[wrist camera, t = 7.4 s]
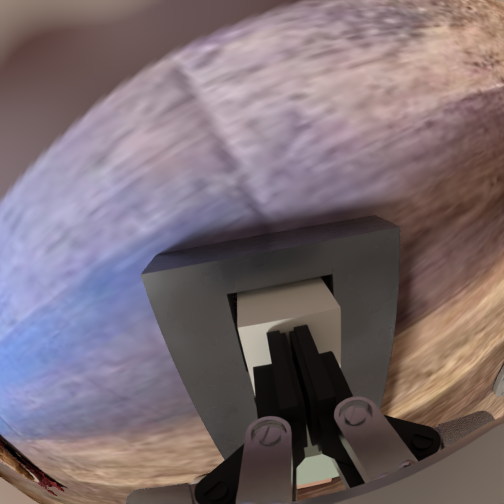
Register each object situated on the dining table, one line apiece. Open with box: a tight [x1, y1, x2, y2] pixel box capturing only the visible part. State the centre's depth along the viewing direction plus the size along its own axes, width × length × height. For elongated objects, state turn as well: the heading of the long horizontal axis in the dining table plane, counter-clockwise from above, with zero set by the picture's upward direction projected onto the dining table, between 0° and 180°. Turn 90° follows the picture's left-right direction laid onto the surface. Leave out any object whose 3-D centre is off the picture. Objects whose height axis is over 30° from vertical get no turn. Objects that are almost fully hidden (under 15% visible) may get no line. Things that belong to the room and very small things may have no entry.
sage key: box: [297, 425, 339, 485], centre depth 13 cm, size 4×4×4 cm
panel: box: [141, 216, 400, 460], centre depth 16 cm, size 12×22×3 cm, turn 10°
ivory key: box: [237, 277, 341, 393], centre depth 13 cm, size 4×4×4 cm
